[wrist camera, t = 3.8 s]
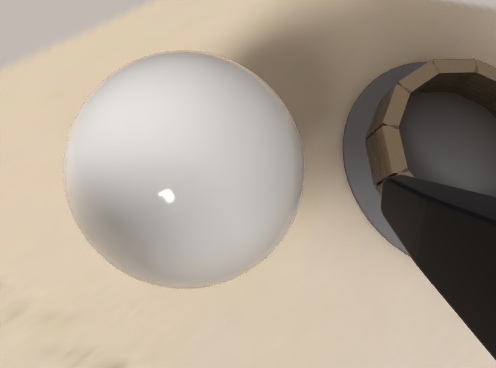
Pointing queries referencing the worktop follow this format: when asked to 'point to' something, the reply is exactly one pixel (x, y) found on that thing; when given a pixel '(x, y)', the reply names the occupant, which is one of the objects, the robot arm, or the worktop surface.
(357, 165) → the socket mat
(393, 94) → the socket collar
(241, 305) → the worktop surface
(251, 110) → the lightbulb
